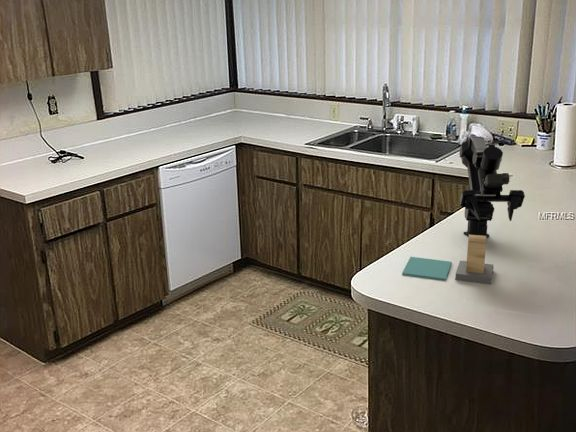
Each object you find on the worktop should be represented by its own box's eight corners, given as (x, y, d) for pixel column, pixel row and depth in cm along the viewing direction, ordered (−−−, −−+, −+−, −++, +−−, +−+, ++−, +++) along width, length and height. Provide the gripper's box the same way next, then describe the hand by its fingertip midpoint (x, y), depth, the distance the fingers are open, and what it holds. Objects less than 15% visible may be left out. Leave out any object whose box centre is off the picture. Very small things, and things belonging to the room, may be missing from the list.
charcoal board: (459, 266, 198) (459, 260, 197) (493, 270, 194) (493, 264, 193) (455, 279, 189) (455, 273, 188) (490, 284, 185) (490, 278, 185)
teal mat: (410, 258, 204) (410, 256, 204) (451, 263, 200) (451, 261, 200) (402, 274, 193) (402, 272, 193) (445, 280, 188) (445, 278, 188)
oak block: (466, 264, 194) (468, 234, 190) (483, 266, 192) (486, 235, 189) (466, 271, 189) (468, 240, 186) (483, 273, 188) (486, 242, 184)
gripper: (462, 164, 197) (467, 203, 187) (524, 164, 195) (533, 203, 186) (457, 187, 206) (462, 225, 196) (516, 187, 204) (524, 226, 194)
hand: (495, 219), depth 193 cm, fingers open, 9 cm apart
